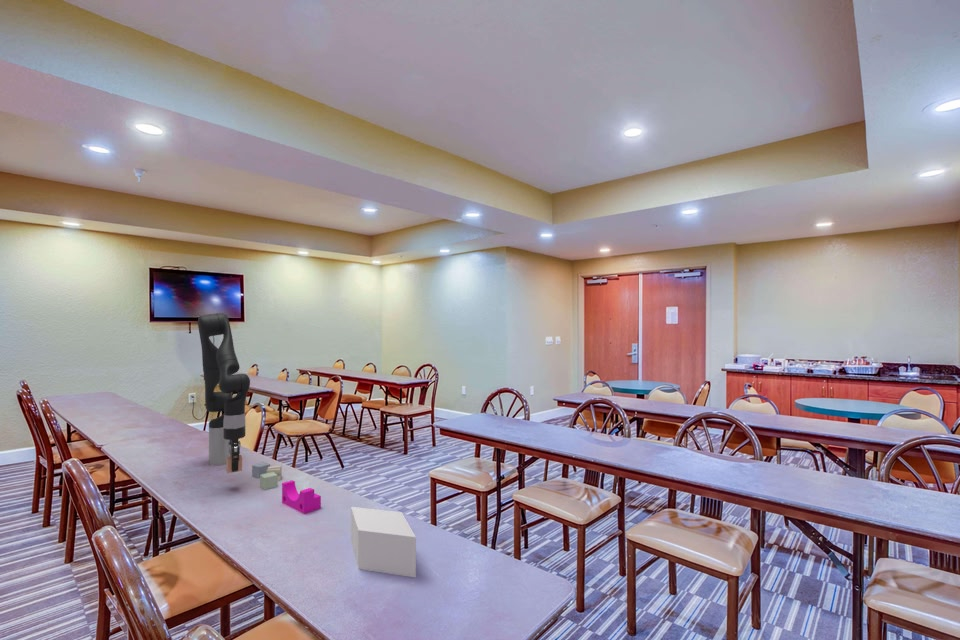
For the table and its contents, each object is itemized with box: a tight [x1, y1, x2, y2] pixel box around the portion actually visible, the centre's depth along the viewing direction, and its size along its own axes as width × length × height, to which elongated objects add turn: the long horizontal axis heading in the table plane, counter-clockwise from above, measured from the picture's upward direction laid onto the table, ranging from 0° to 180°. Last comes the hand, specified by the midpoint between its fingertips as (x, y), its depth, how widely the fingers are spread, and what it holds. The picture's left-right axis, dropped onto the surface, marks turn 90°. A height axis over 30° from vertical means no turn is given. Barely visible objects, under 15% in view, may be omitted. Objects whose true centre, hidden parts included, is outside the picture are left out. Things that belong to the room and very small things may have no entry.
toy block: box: [281, 479, 322, 515], centre depth 156 cm, size 15×6×8 cm, turn 52°
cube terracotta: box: [226, 454, 243, 474], centre depth 171 cm, size 5×5×5 cm
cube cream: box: [267, 465, 283, 482], centre depth 182 cm, size 5×5×5 cm
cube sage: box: [259, 472, 279, 491], centre depth 173 cm, size 5×5×5 cm
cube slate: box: [251, 461, 271, 479], centre depth 186 cm, size 5×5×5 cm
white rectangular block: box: [350, 506, 417, 578], centre depth 121 cm, size 14×29×10 cm, turn 50°
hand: (234, 468), depth 171 cm, fingers closed on cube terracotta, 5 cm apart
